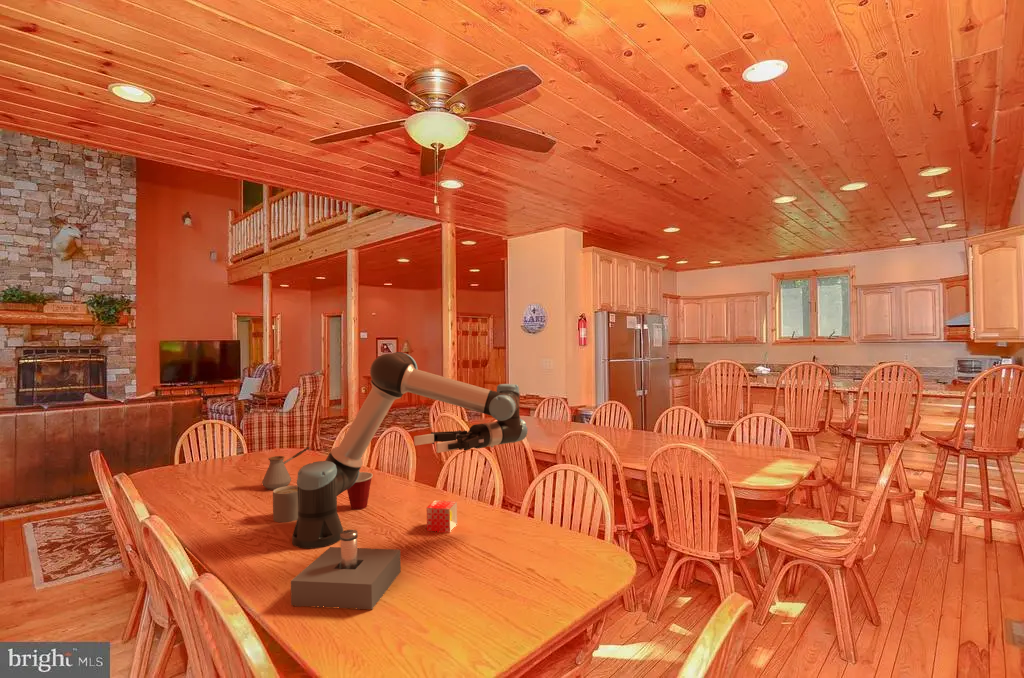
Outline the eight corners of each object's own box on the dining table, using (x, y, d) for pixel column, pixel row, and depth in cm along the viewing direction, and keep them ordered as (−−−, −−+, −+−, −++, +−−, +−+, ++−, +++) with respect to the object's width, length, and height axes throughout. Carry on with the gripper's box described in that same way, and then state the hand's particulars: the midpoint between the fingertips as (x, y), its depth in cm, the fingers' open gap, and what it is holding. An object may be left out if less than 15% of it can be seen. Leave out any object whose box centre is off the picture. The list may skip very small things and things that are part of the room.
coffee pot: (269, 493, 216) (269, 457, 216) (257, 488, 224) (256, 453, 224) (317, 481, 233) (317, 448, 232) (304, 477, 240) (304, 445, 240)
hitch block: (291, 605, 124) (290, 580, 124) (330, 568, 144) (330, 547, 144) (371, 610, 121) (371, 584, 121) (400, 571, 141) (400, 549, 141)
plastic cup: (337, 510, 193) (336, 478, 193) (356, 501, 203) (355, 470, 203) (361, 513, 189) (360, 480, 189) (379, 504, 199) (378, 473, 199)
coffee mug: (283, 524, 179) (283, 495, 179) (267, 518, 185) (267, 490, 185) (317, 513, 190) (317, 485, 190) (301, 508, 196) (300, 481, 196)
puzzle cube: (450, 533, 169) (449, 508, 169) (426, 531, 171) (426, 507, 171) (457, 524, 177) (456, 501, 177) (435, 523, 178) (434, 500, 178)
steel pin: (337, 591, 131) (337, 535, 131) (345, 583, 135) (344, 529, 135) (353, 592, 130) (353, 536, 130) (360, 584, 134) (360, 530, 134)
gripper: (508, 453, 157) (447, 464, 143) (463, 441, 176) (406, 450, 163) (508, 428, 157) (447, 437, 143) (463, 419, 176) (406, 426, 163)
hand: (425, 444), depth 153 cm, fingers open, 13 cm apart
